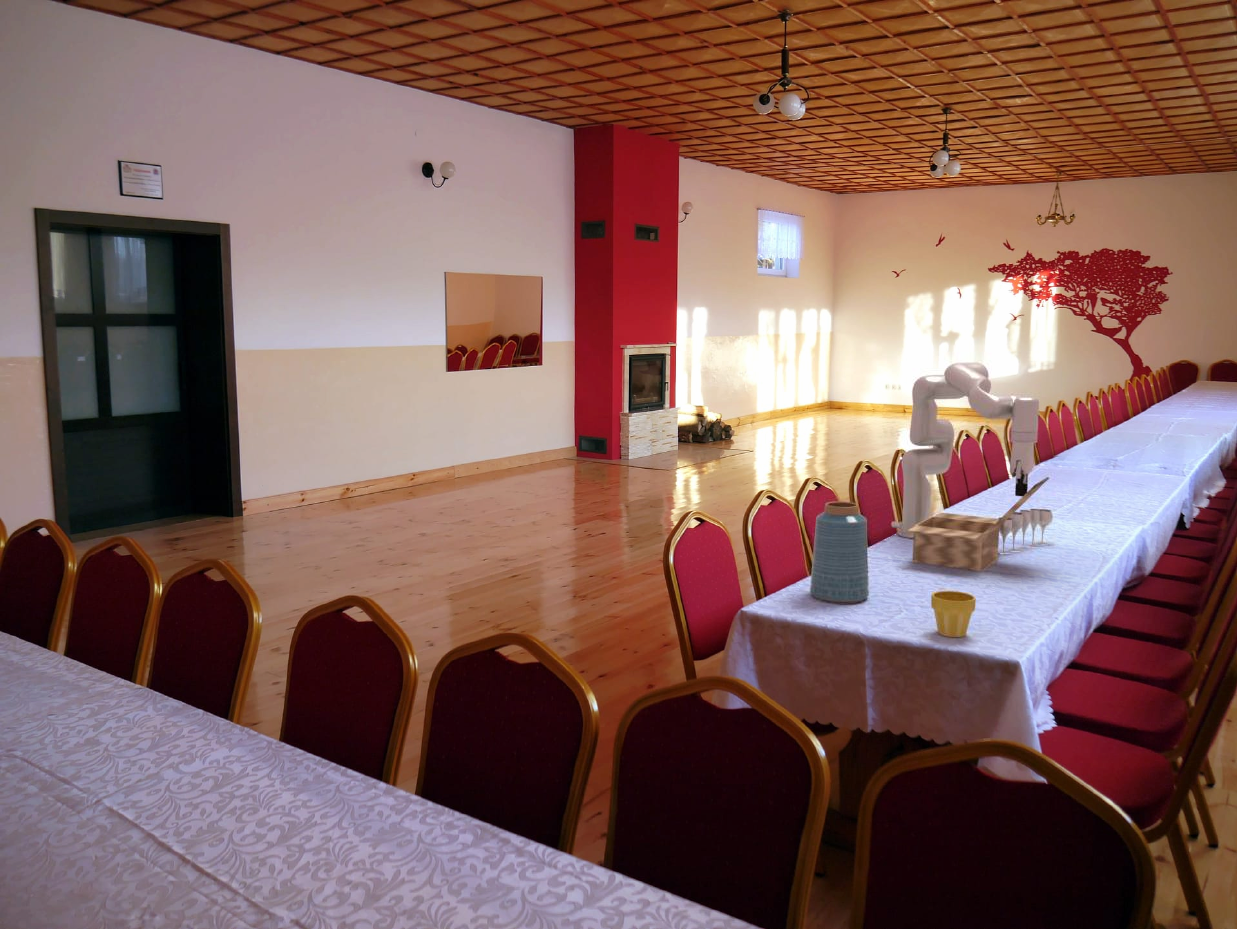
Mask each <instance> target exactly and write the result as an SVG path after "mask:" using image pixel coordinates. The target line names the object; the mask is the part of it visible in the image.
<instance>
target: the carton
mask: <svg viewBox="0 0 1237 929" xmlns="http://www.w3.org/2000/svg"><path fill="white" fill-rule="evenodd" d="M998 520H999V519H998V518H996V517H994V518H993V517H985V516H974V515H967V514H957V513H948V512H947V513H946V512H939V513H938V514H935V515H934V516H933V515H932V516H931V515H930V517H929V518H928V519H926V520H924V521H922V522H920V523H918V524H916V525H914V527H913V528H911V529H909V530H908V532H911V533H914V538H913V544H912V562H913V563H918V564H926V565H934V566H939V567H946V566H947V567H949V568H953V567H956V568H955V569H961V568H962V569H963V570H968V569H971V570H970V571H977V572H982V571H983V572H984V571H986V570H987V569H988V568H989V567H990V566H992V565H994V563H996V562H997V561H998V560H999V554H998V552H999V544H1000V543H999V541H1000V532H999V527H998V528H996V529H995V530H993V531H992V532H990V533H989V534H987V535H986V534H985V533H986V532H987V531H988V530H989V529H990V528H991V527H992V526H993V525H994V524H995V523H996V522H997V521H998ZM996 560H997V561H996ZM995 561H996V562H995ZM991 564H992V565H991ZM987 567H988V568H987ZM986 568H987V569H986ZM962 569H961V570H962Z"/></svg>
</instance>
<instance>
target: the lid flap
mask: <svg viewBox="0 0 1237 929" xmlns="http://www.w3.org/2000/svg"><path fill="white" fill-rule="evenodd" d="M1049 480H1050V477H1048V476H1047V477H1045V478H1043V479H1042V480H1040V481H1038V482H1037V483H1036V484H1034V485H1033V486H1032V487H1031V488H1030V489H1029V490H1027V493H1026V494H1025V495H1024V496H1021V497H1020V499H1018V501H1017V502H1015V503H1014V505H1013V506H1012V507H1011V508H1010V509H1009V510H1008V511H1006V512H1005V514H1004V515H1002V516H1001V517H1002V518H1001V517H1000V518H1001V519H999V520H998V521H997V522H996V523H995V524H994V525H993V526H992V527H991V528H990V529H989V530H988V531H987V532H986V533H985V534H986V535H987V534H989V533H990V532H992V531H993V530H995V529H996V528H998V527H999V526H1001V525H1002V524H1003V523H1004V522H1005V521H1006V520H1007V519H1008V518H1009V517H1010V516H1011V515H1012V514H1013V513H1014V512H1017V510H1019V508H1020V507H1021V506H1022V505H1024V504H1025V503H1026V502H1027V501H1028V500H1029V499H1030V498H1031V497H1032V496H1033V495H1034V494H1035V493H1036V492H1038V490H1039V489H1040V488H1041V487H1042V486H1043V485H1044V484H1045V483H1047V481H1049Z"/></svg>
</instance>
